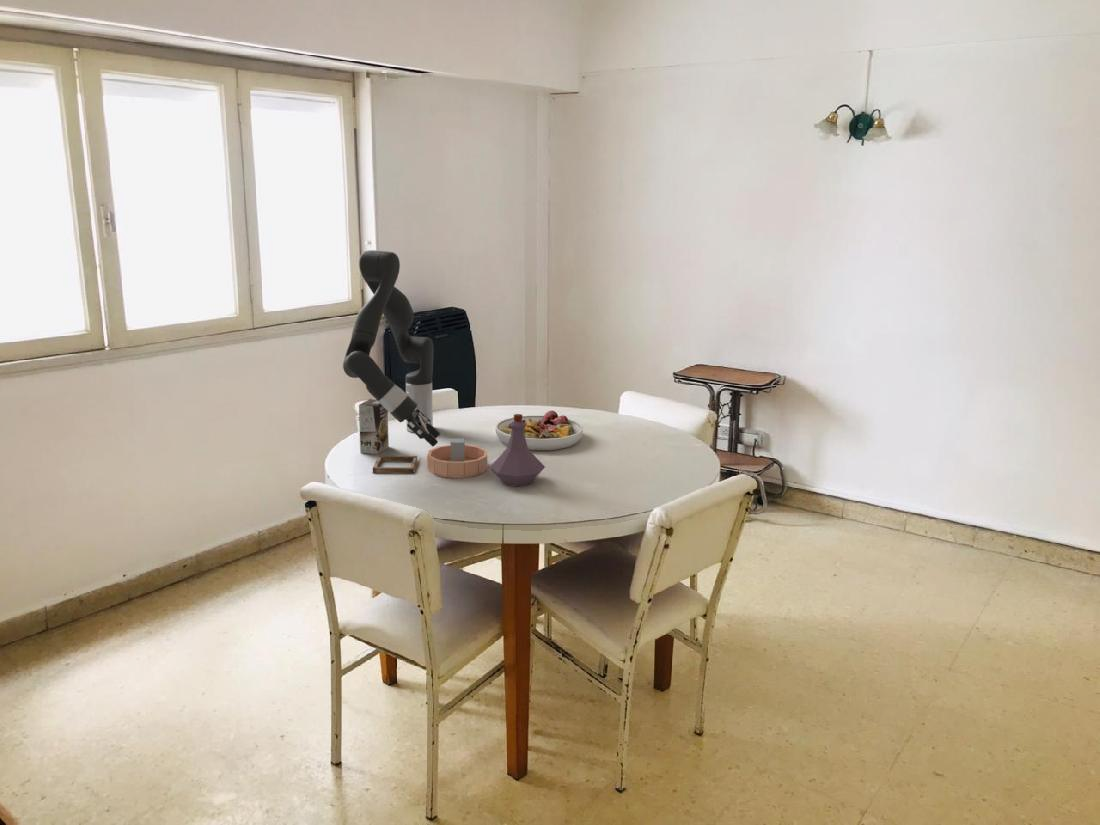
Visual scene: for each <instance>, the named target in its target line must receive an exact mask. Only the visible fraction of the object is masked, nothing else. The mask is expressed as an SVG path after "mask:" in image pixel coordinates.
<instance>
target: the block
mask: <svg viewBox="0 0 1100 825" xmlns="http://www.w3.org/2000/svg"><path fill="white" fill-rule="evenodd" d="M449 445H451V461H453V462H464V461H465V445H466V444H465V438H451V439H450V443H449Z"/></svg>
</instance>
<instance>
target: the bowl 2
mask: <svg viewBox="0 0 1100 825" xmlns="http://www.w3.org/2000/svg"><path fill="white" fill-rule="evenodd" d="M513 421H514V416H513V417H509V418H504V419H502V420H500V421H499V422H497V423H496V424H495V434H496V437H497V438H498V440H500V441H501V442H502V443H503V444H505V445H507V446H508V444H509V440H510V437H511V430H512V429H511V427H510V425H509V424H510V423H512V422H513ZM522 421H523V422H524V423H525V424H527V425H526V427H525V429H524V434H525V439H526V443H527V446H528V449H529V450H530V451H543V452H544V451H545V452H546V451H555V450H561V449H566V448H569V447H572V446H573V445H575V444H577V443H578V442H579V441H580V439H581V438H582V436H583V431H584V430H583V429H584V427H583V426H582V424H580V422H577V421H575V420H572V419H569V418H568V417H567V416H566V415H564V414H563V415H559V414H558V413H557V411H555V410H549V411H547V412H546V413H544V415H523V416H522Z"/></svg>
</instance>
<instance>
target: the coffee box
mask: <svg viewBox="0 0 1100 825" xmlns="http://www.w3.org/2000/svg"><path fill="white" fill-rule="evenodd" d="M358 413H359V414H358V415H359V416H358V417H359V423H358V424H359V425H358V426H359V453H361V454H370V455H379V454H380V453H382V452H383V451H385V450H386V449H387V448H389V446H390V444H389V443H390V442H389V440H390V439H389V438H390V437H389V412H388V411H387V410H386V409H385V408H384V407H383V406H382V405H381V403H380V402H379V401H378V400H377V399H376V398H369V399H367V400H366V401H363V402H362V403H359V404H358Z"/></svg>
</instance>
